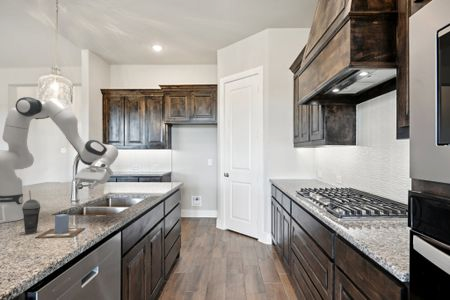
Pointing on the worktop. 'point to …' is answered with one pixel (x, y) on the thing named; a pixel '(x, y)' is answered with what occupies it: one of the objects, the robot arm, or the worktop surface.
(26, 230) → the beverage cup
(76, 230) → the board
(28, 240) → the worktop surface
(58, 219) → the slate block
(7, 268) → the worktop surface
